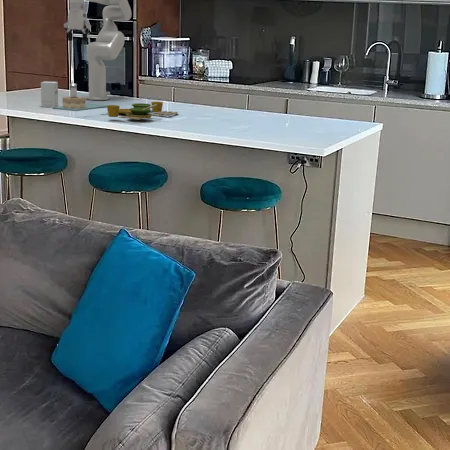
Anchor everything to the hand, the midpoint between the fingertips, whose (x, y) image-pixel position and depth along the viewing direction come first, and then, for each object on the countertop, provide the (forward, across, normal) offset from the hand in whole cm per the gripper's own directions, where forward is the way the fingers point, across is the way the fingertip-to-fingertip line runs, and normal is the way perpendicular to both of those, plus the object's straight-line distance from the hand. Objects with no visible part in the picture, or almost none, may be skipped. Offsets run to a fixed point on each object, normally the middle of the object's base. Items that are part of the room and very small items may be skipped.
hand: (77, 41), depth 389 cm
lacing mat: (+33, -12, +12) cm, 37 cm away
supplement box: (+34, +3, +20) cm, 39 cm away
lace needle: (+33, -12, +19) cm, 40 cm away
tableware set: (+34, -47, +14) cm, 60 cm away
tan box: (+33, -12, +19) cm, 40 cm away
